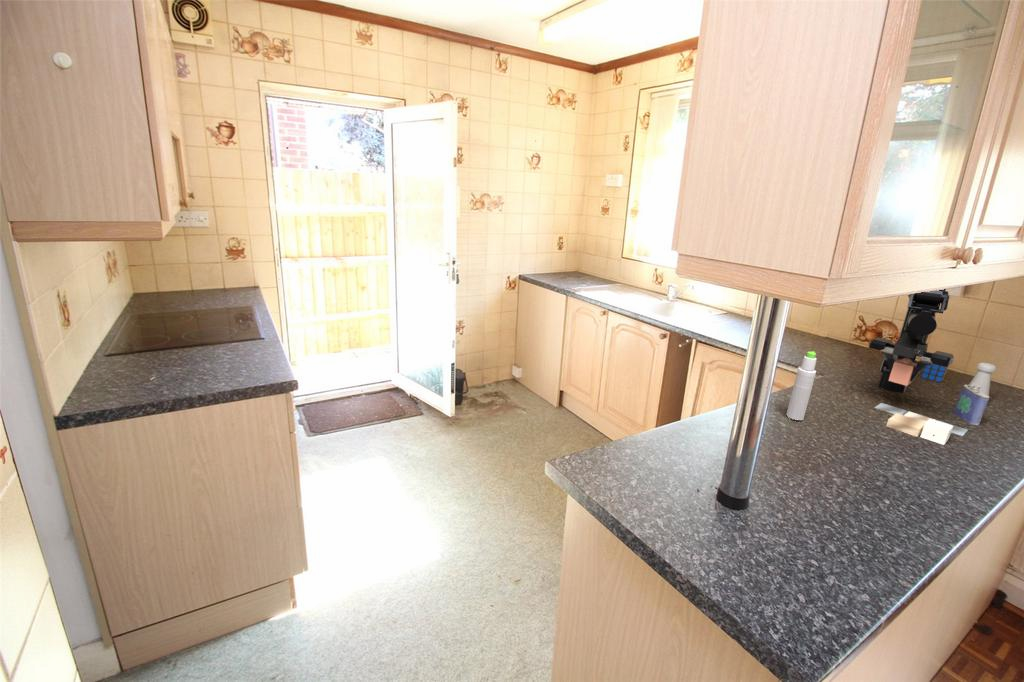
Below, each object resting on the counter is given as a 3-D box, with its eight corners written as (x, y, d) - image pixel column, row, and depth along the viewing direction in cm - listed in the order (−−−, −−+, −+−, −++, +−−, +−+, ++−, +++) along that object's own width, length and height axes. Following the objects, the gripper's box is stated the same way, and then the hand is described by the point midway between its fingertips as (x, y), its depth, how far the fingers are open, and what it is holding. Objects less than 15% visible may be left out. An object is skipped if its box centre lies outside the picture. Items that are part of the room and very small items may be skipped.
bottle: (806, 420, 137) (824, 354, 130) (796, 423, 135) (814, 356, 128) (791, 413, 140) (808, 349, 134) (782, 416, 138) (799, 351, 132)
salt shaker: (976, 398, 161) (990, 361, 157) (990, 405, 155) (1005, 367, 151) (957, 396, 161) (971, 360, 157) (971, 403, 156) (985, 366, 152)
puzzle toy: (920, 377, 178) (925, 362, 176) (923, 373, 181) (928, 359, 180) (941, 382, 173) (947, 367, 172) (943, 378, 177) (949, 363, 175)
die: (925, 423, 128) (949, 430, 124) (929, 418, 131) (953, 425, 127) (919, 439, 129) (943, 448, 125) (923, 434, 132) (947, 442, 129)
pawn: (888, 380, 143) (895, 357, 141) (893, 377, 146) (900, 354, 143) (906, 385, 140) (914, 362, 137) (911, 382, 142) (919, 359, 140)
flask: (980, 428, 138) (995, 391, 135) (967, 426, 139) (981, 389, 135) (960, 413, 147) (973, 379, 144) (948, 412, 148) (960, 377, 145)
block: (885, 428, 134) (888, 419, 133) (893, 422, 139) (896, 413, 138) (916, 439, 129) (919, 429, 128) (923, 432, 133) (926, 422, 132)
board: (871, 410, 146) (872, 408, 145) (881, 403, 151) (881, 401, 151) (961, 440, 130) (962, 437, 130) (968, 431, 136) (969, 429, 135)
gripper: (870, 323, 140) (855, 373, 145) (952, 341, 126) (933, 395, 131) (882, 319, 146) (867, 366, 151) (962, 335, 133) (943, 387, 137)
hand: (900, 378), depth 142 cm, fingers closed on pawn, 4 cm apart
